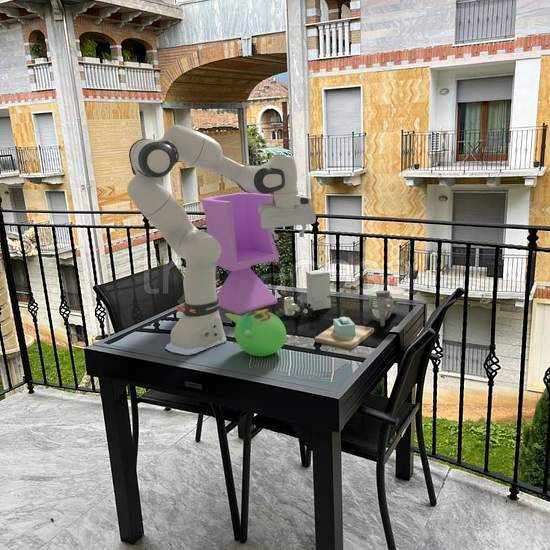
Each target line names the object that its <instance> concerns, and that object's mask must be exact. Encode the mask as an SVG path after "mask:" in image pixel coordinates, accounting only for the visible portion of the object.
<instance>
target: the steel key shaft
mask: <svg viewBox="0 0 550 550" xmlns="http://www.w3.org/2000/svg"><path fill="white" fill-rule="evenodd" d="M346 317H347V316H341V317H340V316H339V318H340V323H341V324H342V325H344V324H349V320H348V319H347V318H346Z"/></svg>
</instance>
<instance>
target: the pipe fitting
mask: <svg viewBox="0 0 550 550" xmlns="http://www.w3.org/2000/svg"><path fill="white" fill-rule="evenodd" d="M375 295H376V299H375V300H374V299H373V300H374V301H376V302H377V300H378V298H381V297H383V298H392V299H395V298H393V296H392V295H391V291H390V290H378V291H375ZM395 301H397V300H396V299H395ZM387 303H388V302H387ZM388 305H389V303H388ZM374 306H378V305H374ZM398 308H399V303H398V302H397V305H395V308H394V309H392V310H391V311H386V314H385V321H386V320H388V319H389V318H390V317H391V315H393V314H395V312H397V310H398ZM368 311H369V312H368V314H369V315H370V317H371V318H372V319H373V320H375V321H376V322H380V314H379V310H376V309H371V308H370V307H369V306H368Z"/></svg>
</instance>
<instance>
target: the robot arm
mask: <svg viewBox="0 0 550 550" xmlns="http://www.w3.org/2000/svg"><path fill="white" fill-rule="evenodd" d="M128 158H129V163H130V168H131V171H132V174H133V175H134V176H133V177H132V179H131V180H130V181H129V182H128V185H127V189H126V192H127V194H128V196H129V198H130V199H131V201H132V202H133V204H134V205H135V207H136V208H137V209H138V210H139V212H140V213H141V214H142V215H143V216H144V218H146V219H147V221H148V222H149V223H151V224H152V226H153V227H154V228H155V229H156V230H157V231H158V232H159V233H160V234H161V237H163V238H164V240H165V242H167V244H168V246H169V247H170V248H171V249H172V250H173V252H174V253H175V254H176V255H177V257H179V258H181V259H183V260H185V265H186V267H185V275H184V278H183V281H182V283H183V284H182V285H183V292H184V300H185V301H184V302H183V306H181V305H178V306H177V308H176V311H177V312H179V313H182V315H181V316H180V318H179V320H178V321H177V322H176V323H175V325H174V326H173V327H172V329H171V332H170V342H171V345H173V346H176V347H179V348H184V349H194V348H198V347H199V348H201V347H203V348H207V347H210V346H213V345H217V344H220V345H222V344H224V342H225V343H227V342H228V341H227V337H226V336H227V334H226V332H225V330H224V326H223V322H222V318H221V314H220V308H219V300H218V298H217V293H218V292H217V285H216V284H217V283H216V272H217V265H216V264H217V260H218V259H219V257H220V255H221V245H220V243H219V242H218V240H217V239H216V238H215V237H213V236H212V235H211V234H209V233H207V231H206V232H205V231H202V230H200V229H198V228H197V227H196V226H195V225H194V224H193V222H192V221H191V219H190V218H189V216H188V213H187V211H186V210H185V208H184V207H183V206H182V205H181V204H180V203H179V201H177V199H176V198H175V197H174V196H173V194H171V192H170V191H169V190H168V189H167V188H166V187H165V186H164V184H163V183H162V180H161V178H163V177H165V176H166V175H168V174H169V173H170V172H171V171H172V170H173V168H174V167H175V165H176V164H177V163H178V162H181V163H184V164H186V166H189V167H192V168H195V169H197V170H201V171H205V172H209V173H210V172H213V173H217V174H219V175H221V176H223V177H225V178H227V179H229V180H231V181H233V182H234V183H235V184H236V185H237V186H238V187H239V188H240V189H241V190H242V191H243V193H244V192H246V193H257V194H272V193H273V195H274V196H273V202H267V203H266V202H265V203H262V204H260V205H259V207H258V212H259V214H260V226H261V227H262V228H263V229H267V228H270V231H271V232H272V236H273V239H274V241H277V240H278V241H279V234H278V233H277V234H276V233H275V231H276V229H278V228H284V227H285V228H287V227H295V226H301V227H302V229H301V231H298V234H299V235H298V237H299V238H304V237H305V231H306V229H307V225H312V224H315V223H316V221H317V216H316V211H315V207H314V205H312V202H313V201H312V198H311V197H309V196H306V195H303V194H299V188H298V185H297V183H298V182H297V181H298V172H297V171H298V170H297V163H296V159H295V158H294V157H293V156H292V155H289V154H273V155H272V157H271V158H270V159H269V160H267V161H266V162H265V163H263V164H261V165H254V164H253V165H252V164H241V163H239V162H237V161H235V160H232V159H231V158H229V157H227V156H225V155H224V154H223V148H222V146H221V144H220V143H219V142H218V141H216V140H215V139H214V138H212V137H210V136H209V135H207V134H204V133H203V132H200V131H198V130H196V129H193V128H190V127H187V126H184V125H179V124H172V125H171V126H169V127H168V128H167V129H166V130H165V132H164V133H163V137H162V138H160V139H158V140H155V139H153V138H152V139H150V138H141V139H138V140H137V141H135V142H133V144H132V145H131V147H130V148H129V153H128ZM261 205H262V206H261ZM226 341H227V342H226ZM221 343H222V344H221ZM217 346H218V345H217Z"/></svg>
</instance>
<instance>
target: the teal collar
mask: <svg viewBox="0 0 550 550" xmlns="http://www.w3.org/2000/svg"><path fill="white" fill-rule="evenodd" d="M345 317H346V318H347V319H348V320H349V324H344V325H342V324H341V323H340V317H339V318H333V325H334V331H335V332H336V333H337V335H338V336H339V337H340V338H342V337H349V336H355V325H356V324H355V323H354V322H353V320H352V319H351V318H350V317H349V316H348V317H347V316H345Z"/></svg>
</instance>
